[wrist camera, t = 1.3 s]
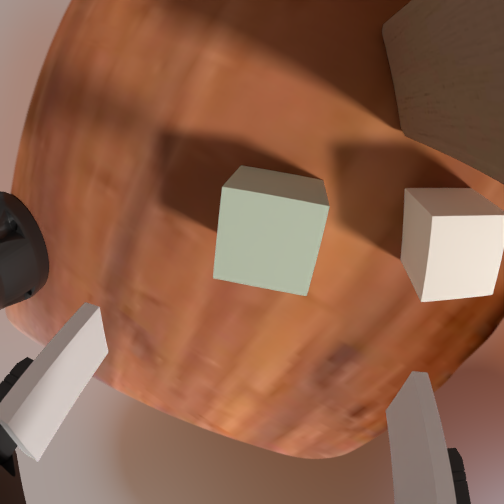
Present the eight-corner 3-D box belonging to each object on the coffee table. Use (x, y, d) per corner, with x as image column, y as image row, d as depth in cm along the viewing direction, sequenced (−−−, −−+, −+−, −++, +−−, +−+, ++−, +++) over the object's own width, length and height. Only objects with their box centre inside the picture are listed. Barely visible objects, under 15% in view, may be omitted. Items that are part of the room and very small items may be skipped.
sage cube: (231, 238, 30) (213, 278, 24) (241, 165, 27) (222, 186, 21) (306, 253, 30) (306, 296, 24) (323, 180, 26) (329, 206, 20)
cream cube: (400, 259, 29) (421, 302, 22) (404, 187, 26) (432, 216, 19) (462, 255, 27) (492, 294, 21) (470, 187, 24) (509, 215, 18)
